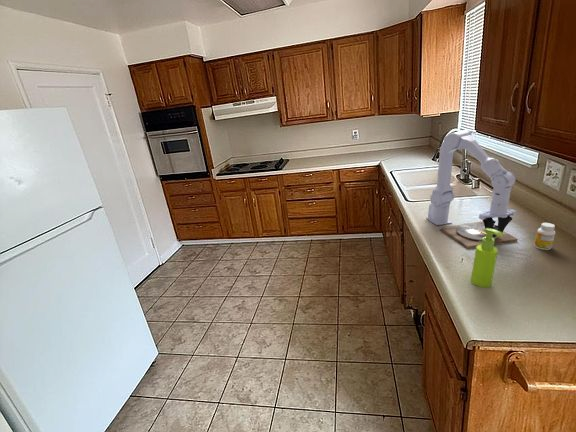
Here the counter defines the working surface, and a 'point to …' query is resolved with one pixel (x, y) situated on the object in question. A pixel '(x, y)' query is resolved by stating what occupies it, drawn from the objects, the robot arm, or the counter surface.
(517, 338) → the counter surface
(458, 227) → the dial
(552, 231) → the supplement bottle
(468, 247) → the dial base
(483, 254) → the soap dispenser
